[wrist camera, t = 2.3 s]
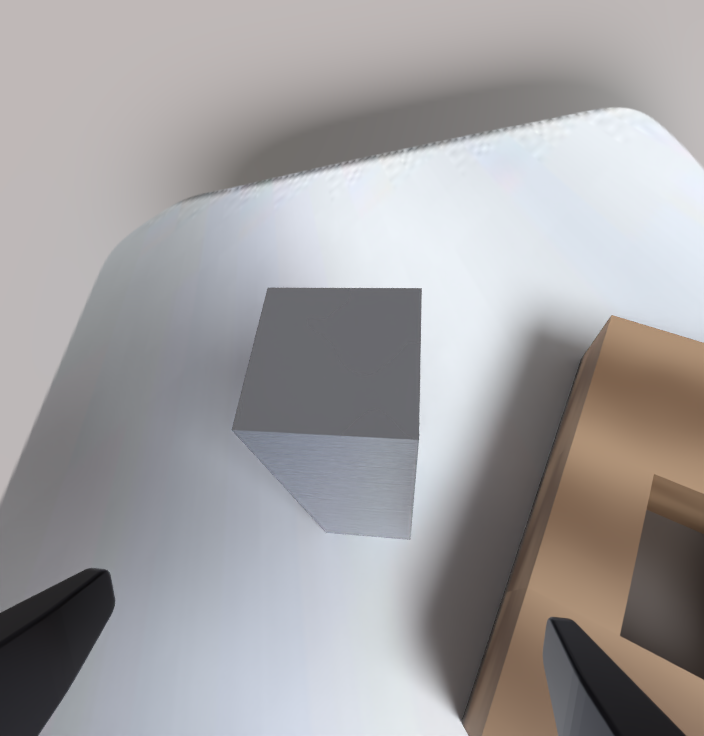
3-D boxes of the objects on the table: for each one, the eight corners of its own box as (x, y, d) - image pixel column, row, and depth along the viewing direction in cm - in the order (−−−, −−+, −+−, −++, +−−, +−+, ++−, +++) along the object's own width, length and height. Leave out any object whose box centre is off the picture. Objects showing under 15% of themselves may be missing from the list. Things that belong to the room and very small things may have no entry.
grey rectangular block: (410, 539, 20) (418, 439, 9) (326, 532, 20) (231, 429, 9) (412, 456, 22) (421, 288, 11) (335, 452, 22) (267, 287, 11)
